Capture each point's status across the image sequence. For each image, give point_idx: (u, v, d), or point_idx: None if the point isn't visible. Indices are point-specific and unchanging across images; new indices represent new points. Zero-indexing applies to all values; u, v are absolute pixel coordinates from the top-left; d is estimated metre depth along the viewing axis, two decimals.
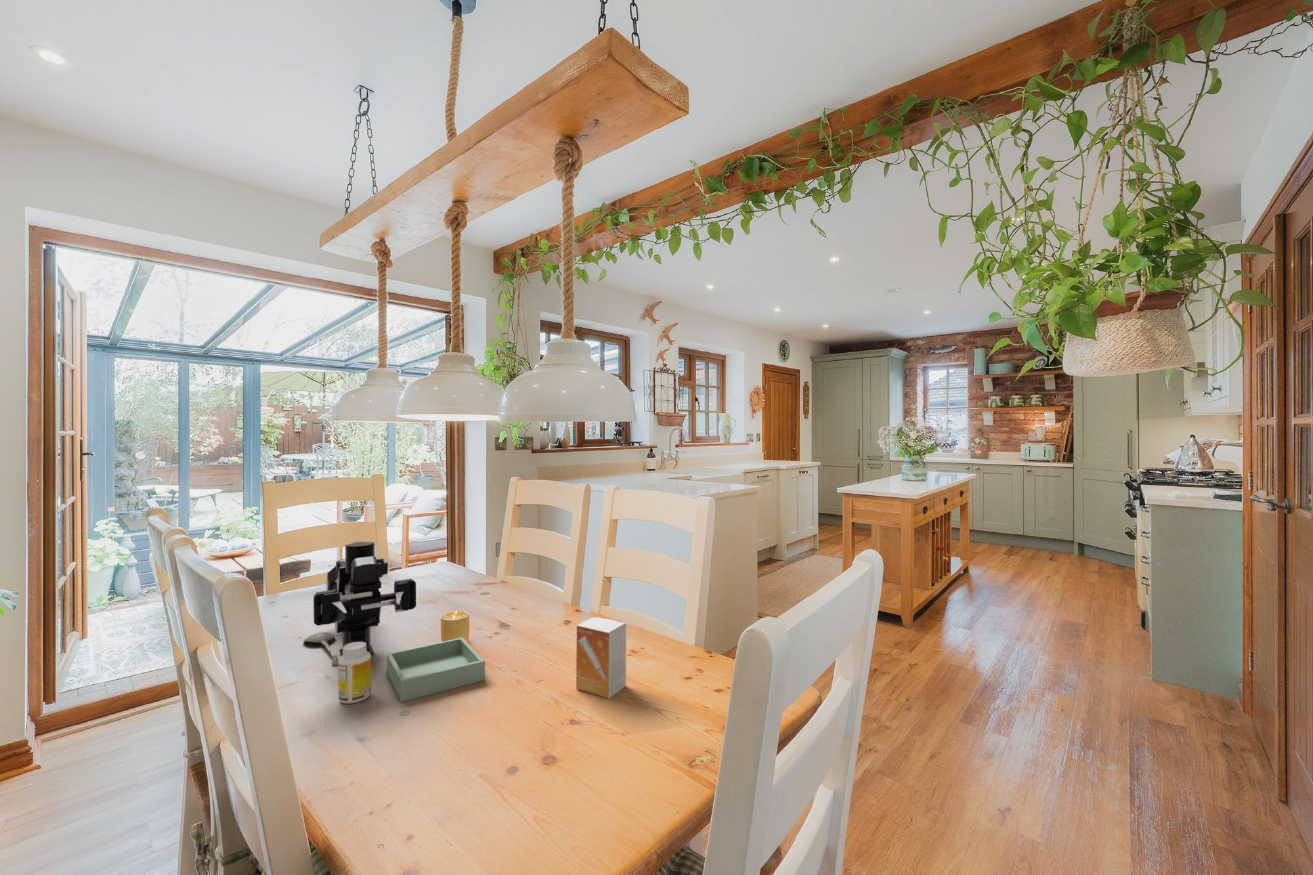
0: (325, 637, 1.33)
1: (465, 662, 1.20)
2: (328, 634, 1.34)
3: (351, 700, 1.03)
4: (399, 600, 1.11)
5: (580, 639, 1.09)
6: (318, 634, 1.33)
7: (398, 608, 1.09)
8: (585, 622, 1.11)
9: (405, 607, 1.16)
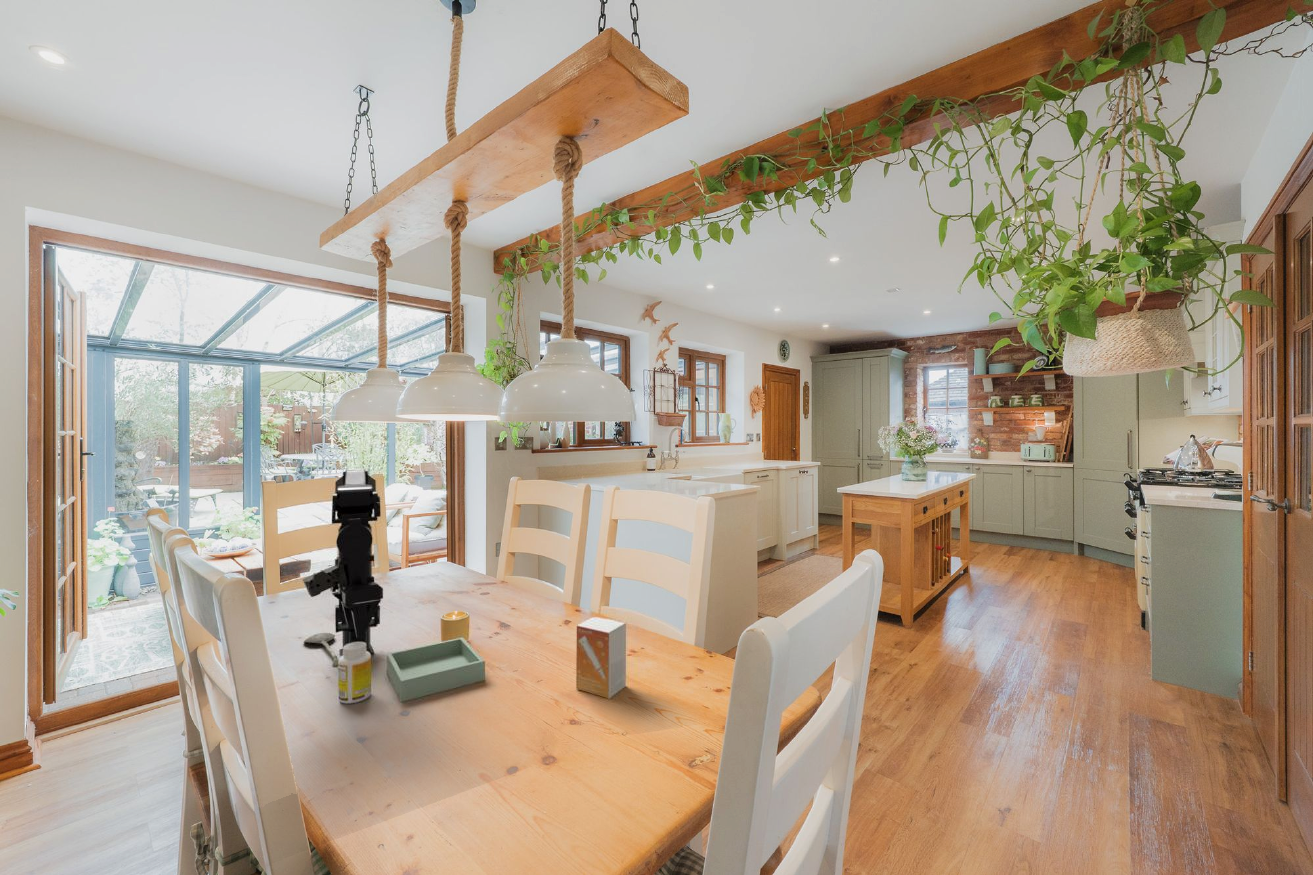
0: (325, 638, 1.32)
1: (465, 662, 1.20)
2: (328, 635, 1.34)
3: (351, 700, 1.03)
4: (355, 629, 1.01)
5: (580, 639, 1.09)
6: (318, 635, 1.33)
7: None
8: (585, 622, 1.11)
9: (375, 602, 1.02)
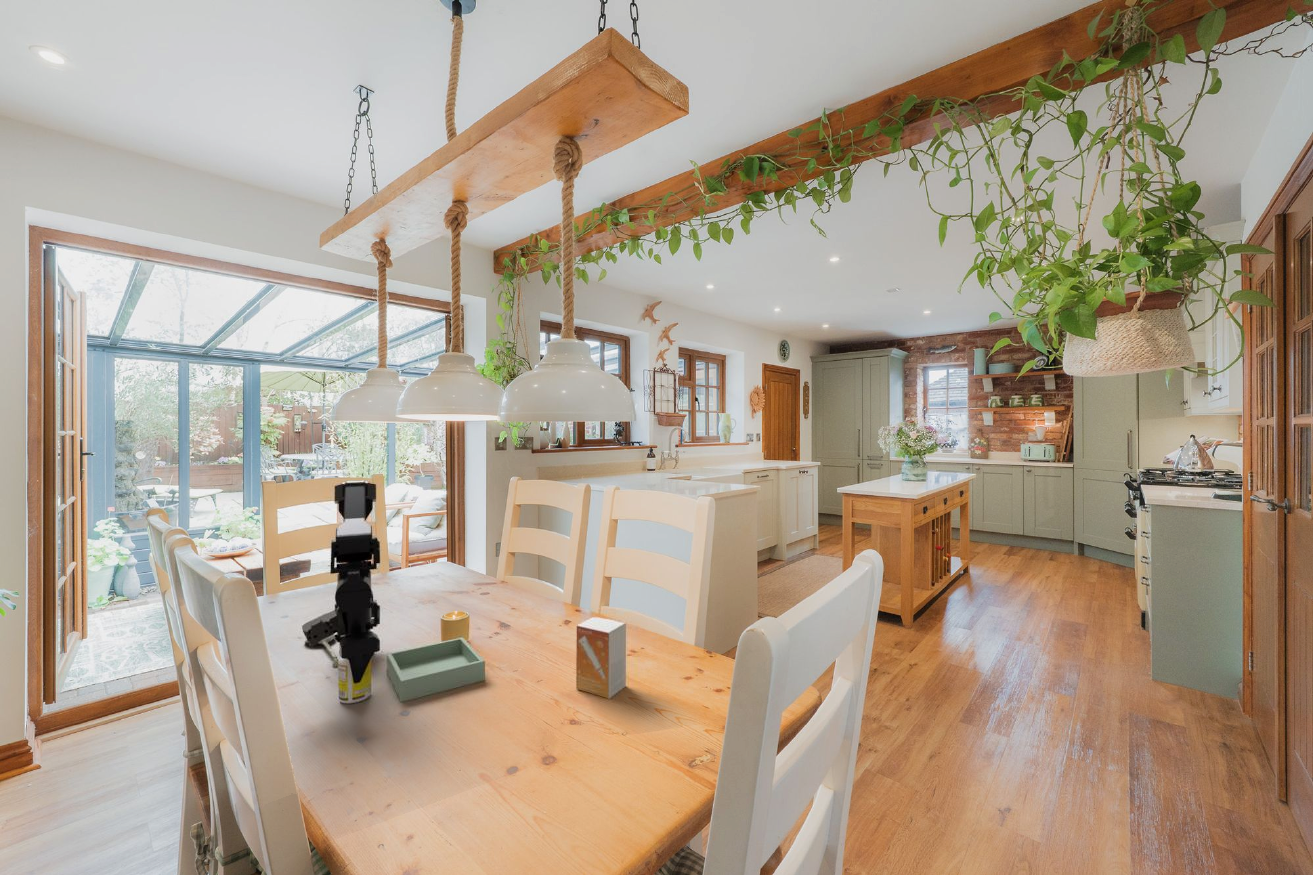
0: (326, 638, 1.32)
1: (465, 662, 1.20)
2: None
3: (351, 700, 1.03)
4: (352, 675, 1.03)
5: (580, 639, 1.08)
6: None
7: None
8: (585, 622, 1.11)
9: None
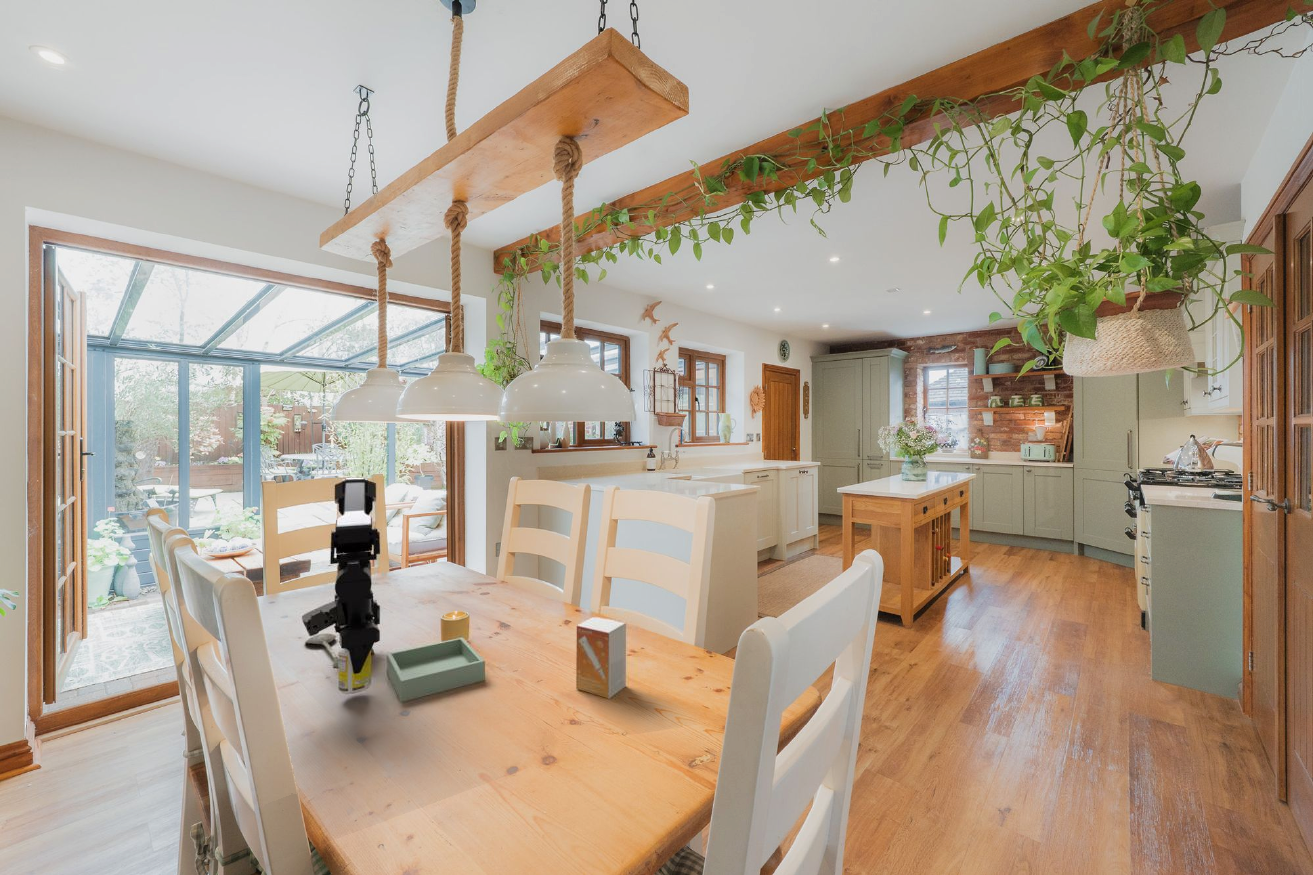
0: (326, 638, 1.32)
1: (465, 662, 1.20)
2: (330, 635, 1.34)
3: (351, 690, 1.03)
4: (352, 666, 1.03)
5: (580, 639, 1.08)
6: (319, 635, 1.33)
7: None
8: (585, 622, 1.11)
9: None
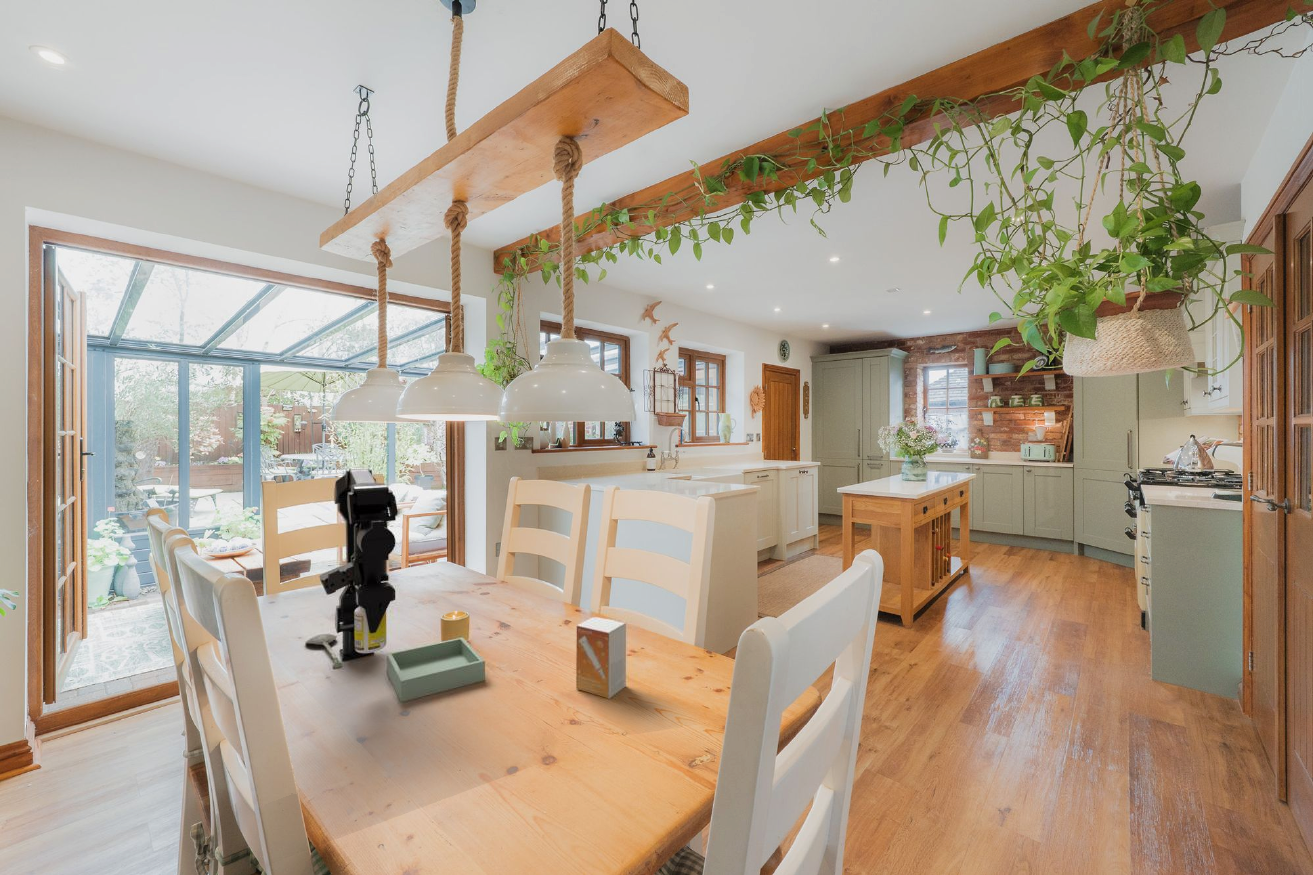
0: (327, 639, 1.32)
1: (465, 662, 1.20)
2: (330, 636, 1.33)
3: (367, 650, 1.05)
4: (368, 625, 1.04)
5: (580, 639, 1.08)
6: (320, 636, 1.32)
7: None
8: (585, 622, 1.11)
9: None
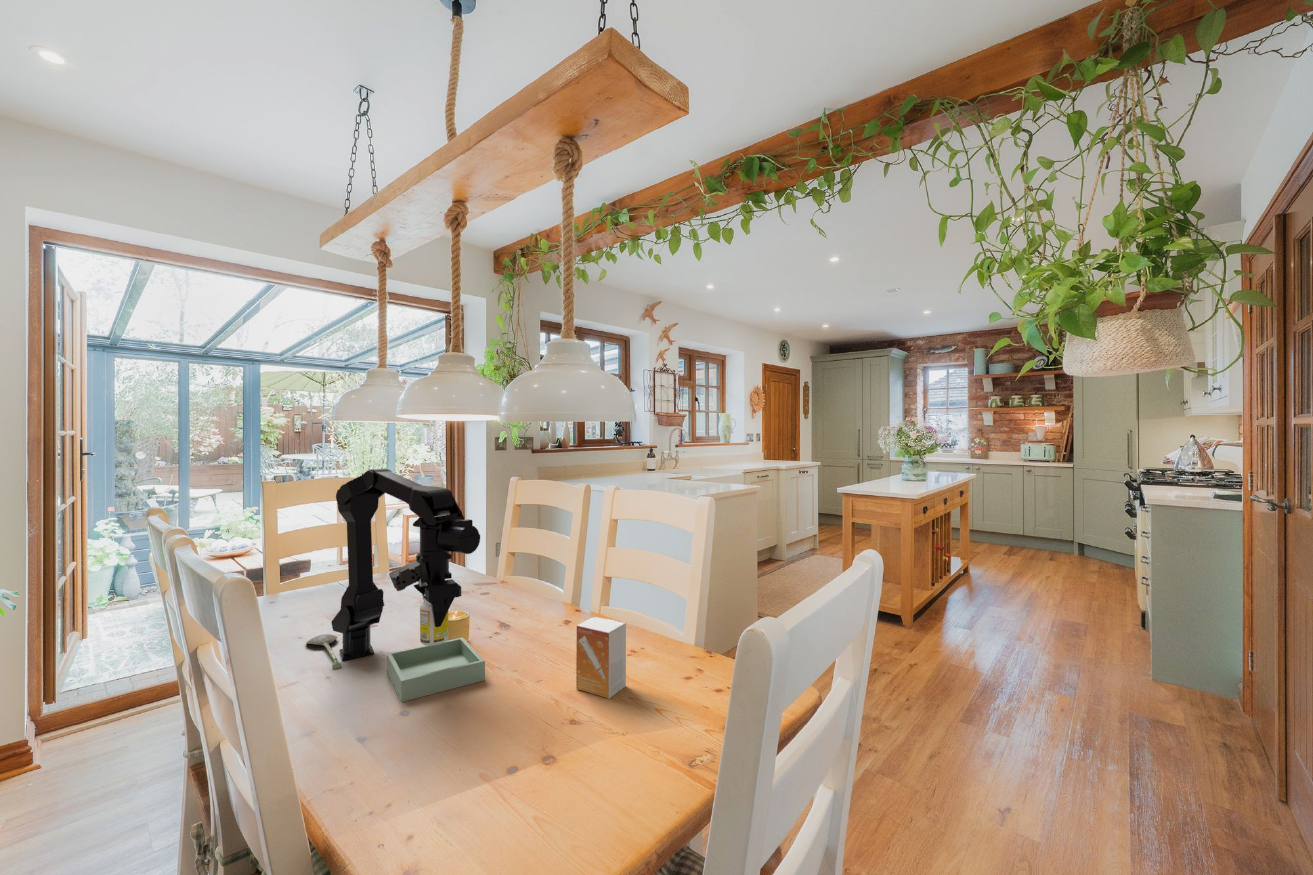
0: (327, 639, 1.31)
1: (465, 662, 1.20)
2: (330, 636, 1.33)
3: (433, 642, 1.13)
4: (434, 619, 1.12)
5: (580, 639, 1.08)
6: (320, 636, 1.32)
7: None
8: (585, 622, 1.11)
9: None
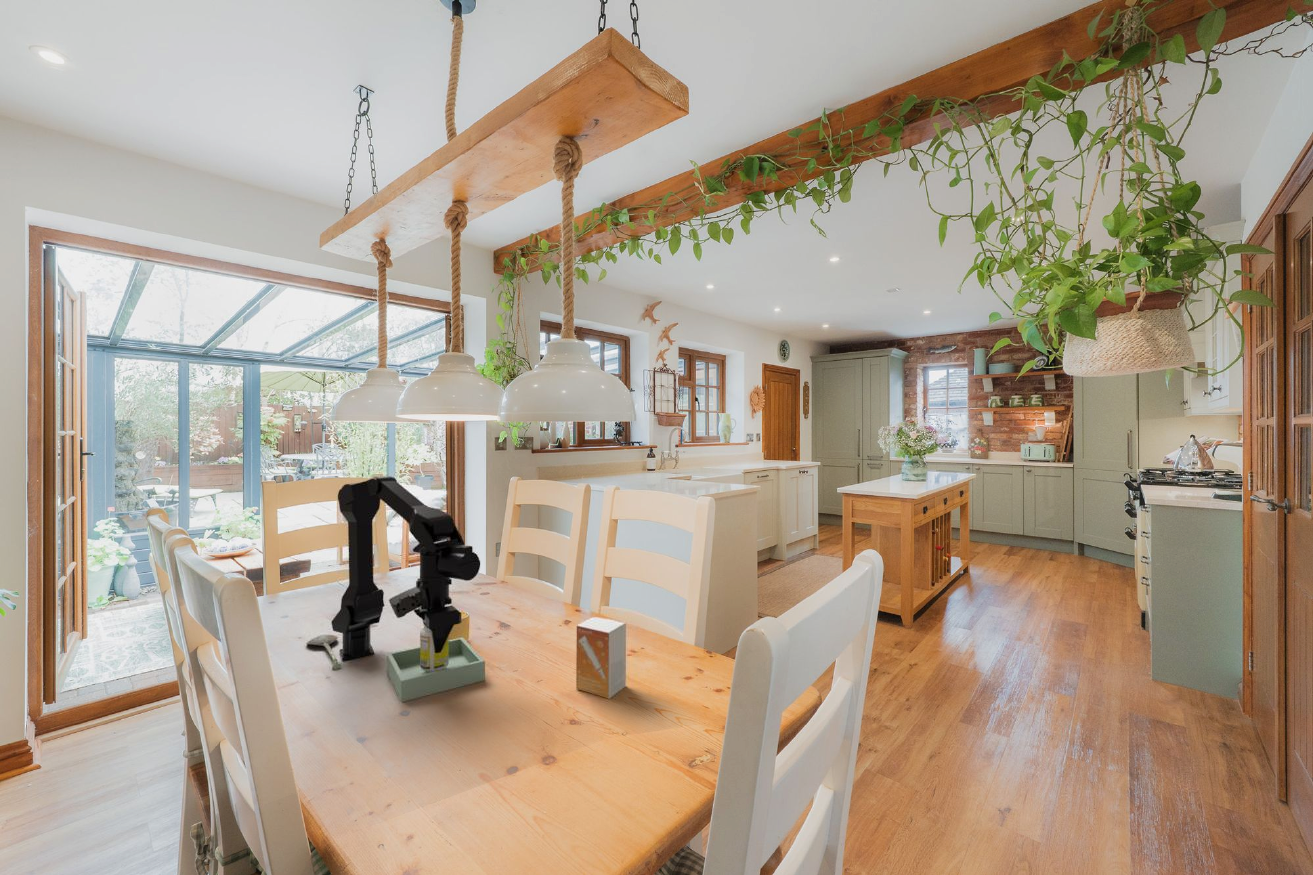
0: (327, 640, 1.31)
1: (465, 662, 1.20)
2: (331, 636, 1.33)
3: (433, 668, 1.13)
4: (434, 645, 1.12)
5: (580, 639, 1.08)
6: (321, 636, 1.32)
7: None
8: (585, 622, 1.11)
9: None
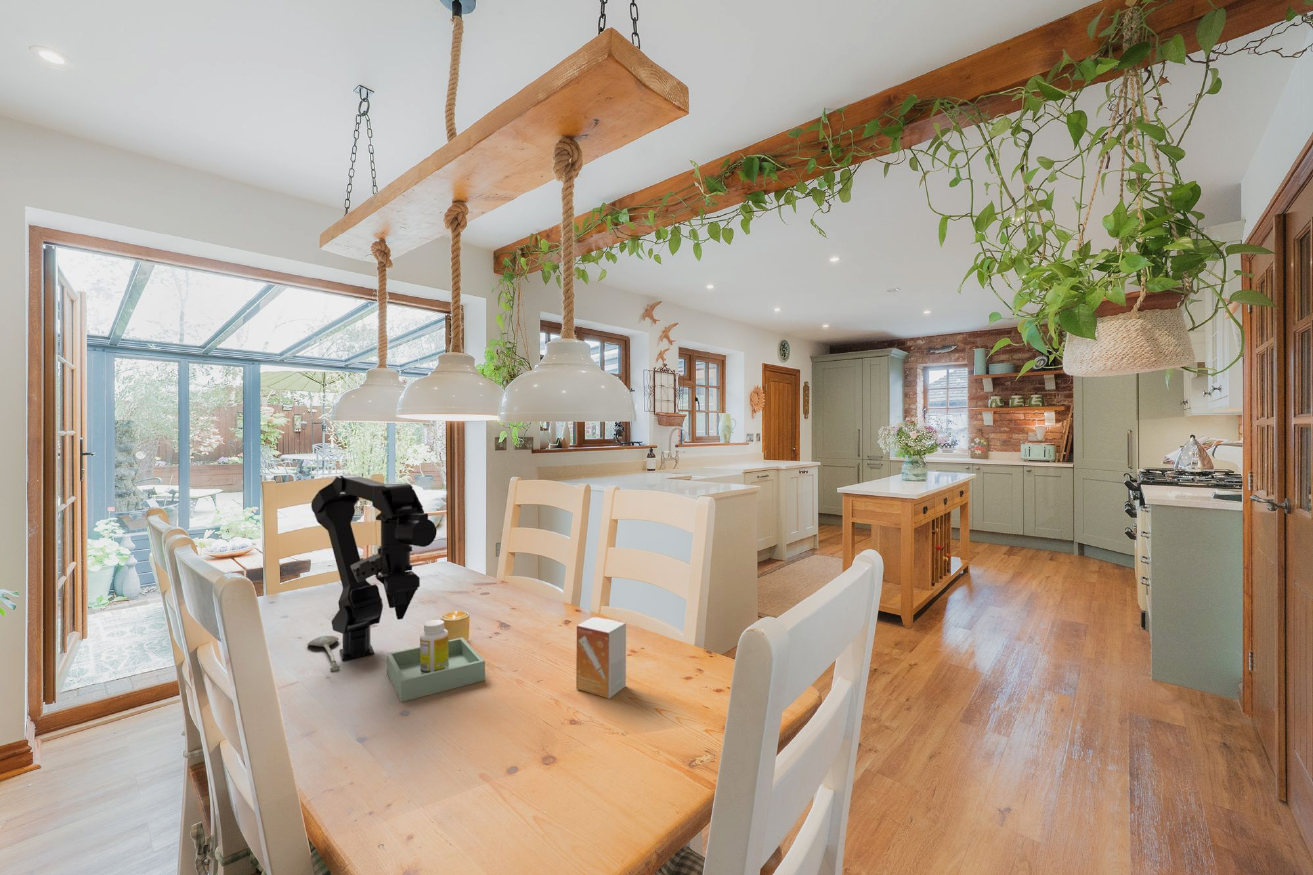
0: (328, 641, 1.30)
1: (465, 662, 1.20)
2: (332, 638, 1.32)
3: None
4: (396, 612, 1.15)
5: (580, 639, 1.08)
6: (322, 637, 1.31)
7: None
8: (585, 622, 1.11)
9: None
